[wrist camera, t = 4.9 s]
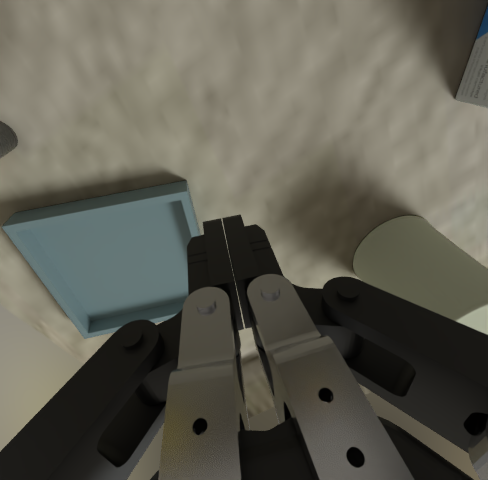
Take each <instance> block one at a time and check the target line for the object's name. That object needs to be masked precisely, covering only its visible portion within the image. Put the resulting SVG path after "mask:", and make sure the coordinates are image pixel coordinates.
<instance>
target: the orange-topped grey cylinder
mask: <svg viewBox="0 0 488 480" xmlns="http://www.w3.org/2000/svg"><path fill="white" fill-rule="evenodd" d="M17 143H18V140H17V136H16V134H15V132H14V131H13V130H12V129H11V128H10V127H9V126H8V125H6V124H4V123H2V122H0V158H2V157H3V156H5V155H6V154H8V153H9V152H10V151H12V150H13V149H15V148H16V146H17Z"/></svg>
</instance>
